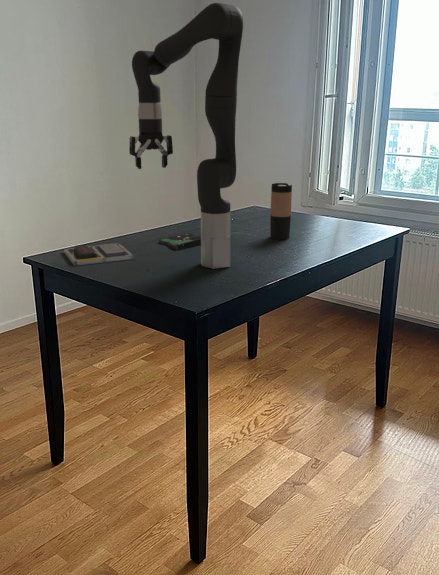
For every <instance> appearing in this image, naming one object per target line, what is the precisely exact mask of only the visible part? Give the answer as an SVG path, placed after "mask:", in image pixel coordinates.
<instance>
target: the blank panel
mask: <svg viewBox="0 0 439 575" xmlns="http://www.w3.org/2000/svg"><path fill="white" fill-rule="evenodd" d="M97 246H98V251H99V252H100V253H101V254H102V255H103V256H104V257H105V258H106V257H115V256H124V255H125V251H124V250H122V249H121V248H120V247H119V246H118V245H117V243H116V242H115V243H105V244H97Z"/></svg>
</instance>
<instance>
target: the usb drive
mask: <svg viewBox="0 0 439 575" xmlns="http://www.w3.org/2000/svg"><path fill="white" fill-rule="evenodd" d="M88 246H89V245H88ZM88 246H87V245H86V244H80V245H75V246H73V248H74V256H75V257H77V258H78V259H79V260H80V259H89V258H97V254H96V253H95V252H94V251H93V250H92V249H91V248H89V247H88Z"/></svg>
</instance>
